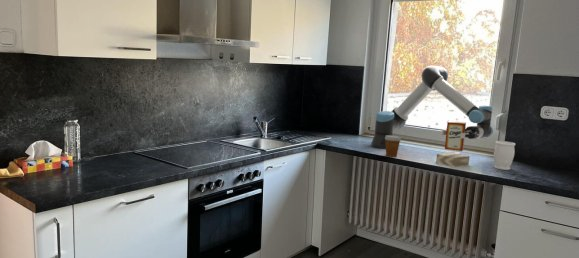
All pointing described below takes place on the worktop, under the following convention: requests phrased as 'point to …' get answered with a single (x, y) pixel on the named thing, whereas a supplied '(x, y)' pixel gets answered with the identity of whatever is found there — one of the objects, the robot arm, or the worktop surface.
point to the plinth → (452, 159)
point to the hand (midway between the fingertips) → (451, 134)
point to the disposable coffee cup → (392, 145)
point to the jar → (503, 154)
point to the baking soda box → (455, 135)
